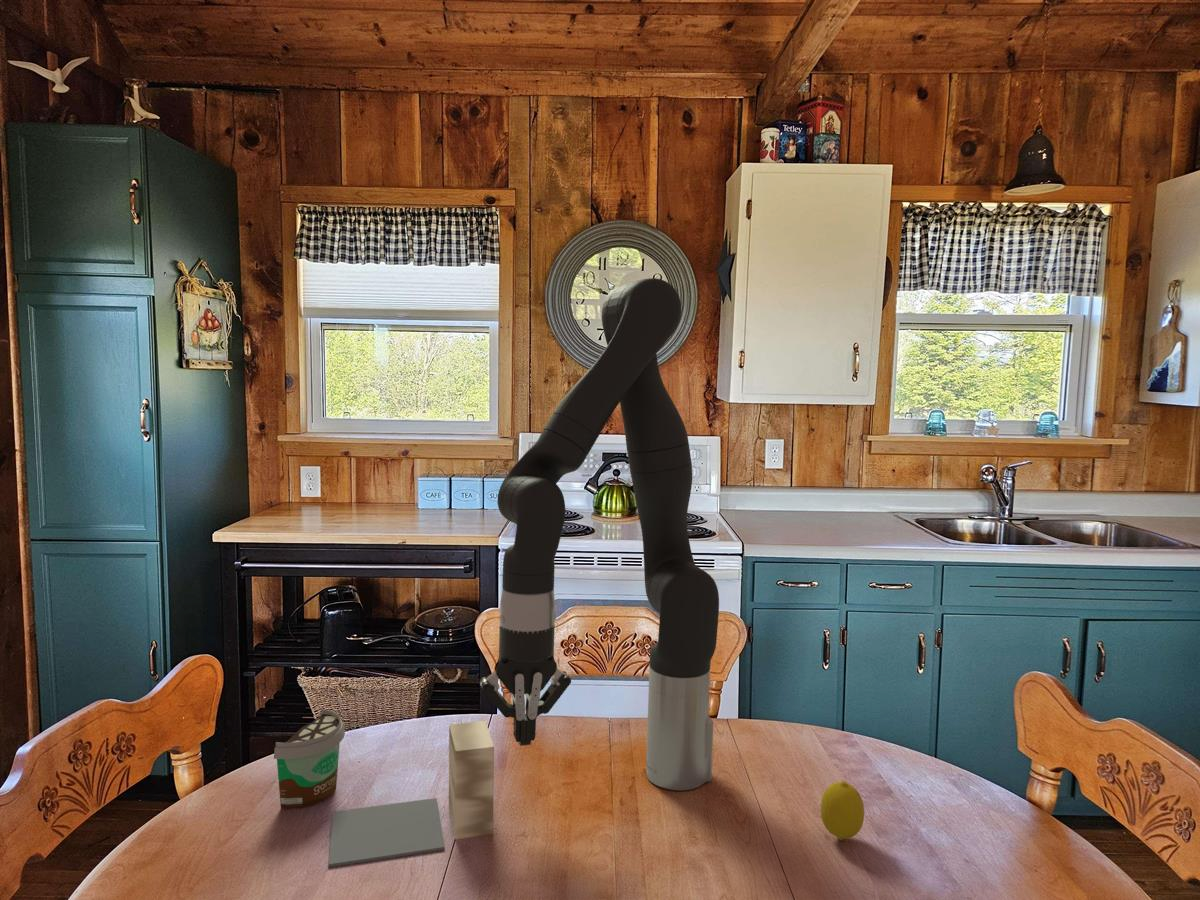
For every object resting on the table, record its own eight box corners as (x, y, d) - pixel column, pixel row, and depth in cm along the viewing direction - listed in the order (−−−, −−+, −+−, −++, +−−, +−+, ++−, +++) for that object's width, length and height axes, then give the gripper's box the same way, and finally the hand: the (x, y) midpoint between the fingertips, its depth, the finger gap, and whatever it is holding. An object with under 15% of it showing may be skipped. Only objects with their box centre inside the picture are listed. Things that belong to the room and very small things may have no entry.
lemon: (840, 856, 98) (843, 796, 98) (810, 833, 103) (813, 776, 103) (871, 845, 101) (875, 787, 100) (840, 823, 106) (843, 768, 105)
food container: (314, 820, 104) (314, 749, 103) (274, 814, 105) (273, 744, 104) (360, 775, 116) (360, 711, 115) (323, 770, 117) (323, 707, 116)
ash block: (484, 802, 109) (485, 720, 108) (493, 833, 102) (494, 746, 101) (448, 806, 108) (449, 724, 107) (454, 839, 100) (455, 751, 99)
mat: (436, 800, 109) (436, 797, 109) (444, 849, 98) (444, 846, 98) (332, 814, 105) (332, 811, 105) (328, 867, 94) (328, 864, 94)
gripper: (567, 610, 110) (563, 726, 112) (475, 615, 106) (472, 735, 108) (581, 626, 103) (577, 750, 104) (482, 632, 99) (479, 761, 101)
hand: (523, 742), depth 106 cm, fingers closed
